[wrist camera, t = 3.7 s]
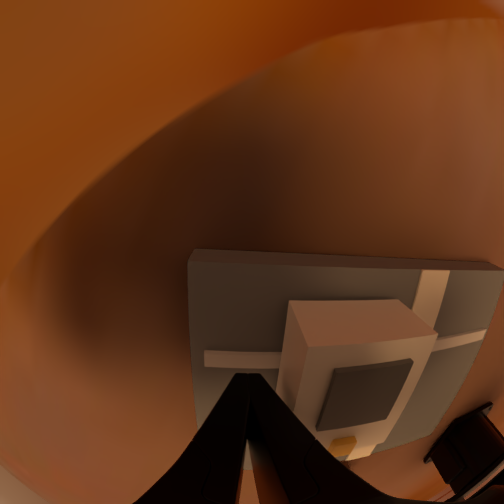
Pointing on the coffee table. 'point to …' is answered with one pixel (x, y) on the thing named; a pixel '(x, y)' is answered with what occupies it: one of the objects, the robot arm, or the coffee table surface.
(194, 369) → the board
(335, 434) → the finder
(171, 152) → the coffee table surface
